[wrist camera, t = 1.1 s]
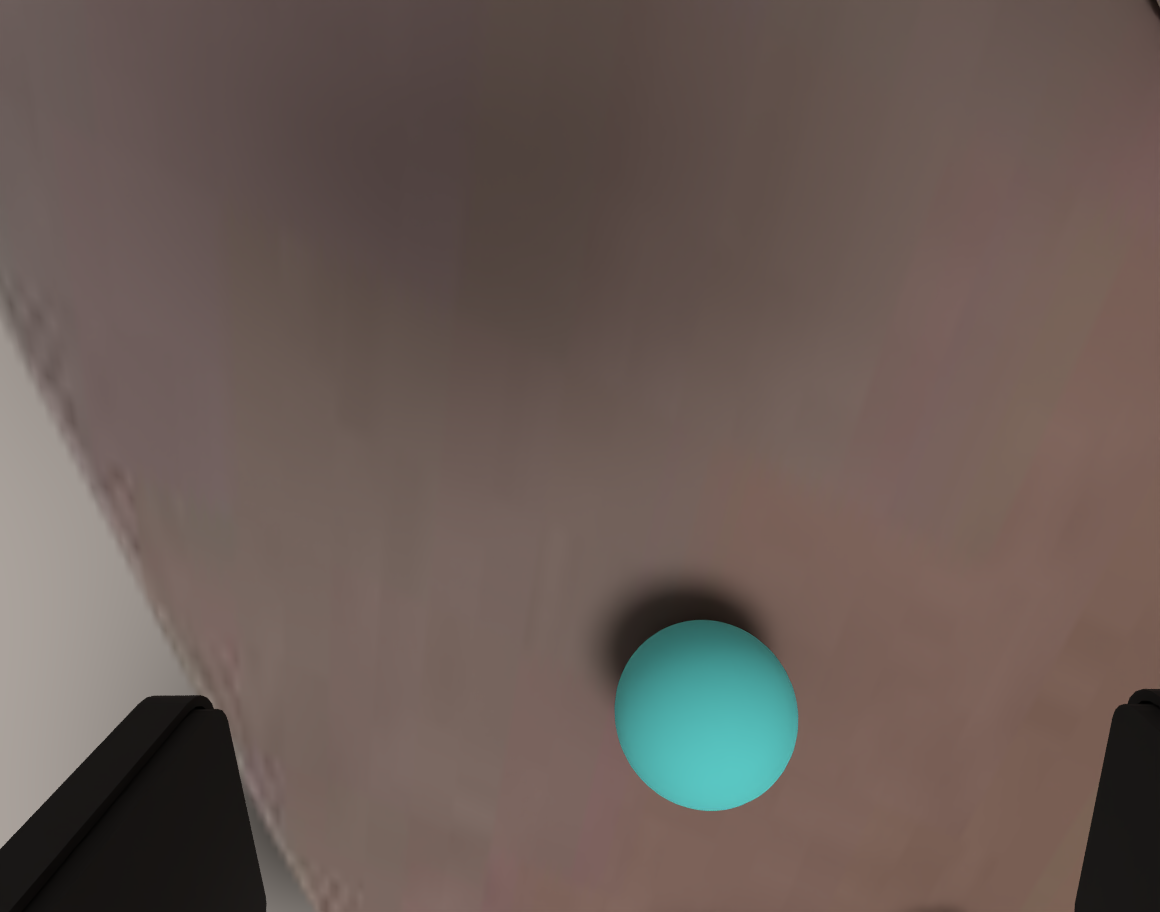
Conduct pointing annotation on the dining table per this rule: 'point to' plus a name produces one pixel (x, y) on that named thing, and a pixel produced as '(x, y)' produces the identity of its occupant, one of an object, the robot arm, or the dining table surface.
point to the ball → (706, 715)
